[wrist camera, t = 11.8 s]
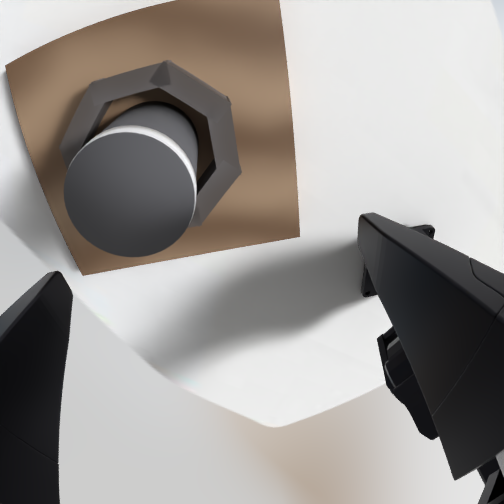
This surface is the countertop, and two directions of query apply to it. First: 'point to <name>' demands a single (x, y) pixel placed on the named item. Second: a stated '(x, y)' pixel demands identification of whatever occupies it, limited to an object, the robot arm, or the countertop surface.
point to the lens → (135, 181)
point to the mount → (185, 98)
